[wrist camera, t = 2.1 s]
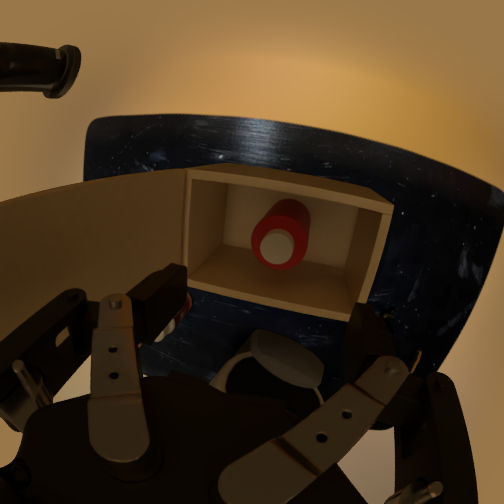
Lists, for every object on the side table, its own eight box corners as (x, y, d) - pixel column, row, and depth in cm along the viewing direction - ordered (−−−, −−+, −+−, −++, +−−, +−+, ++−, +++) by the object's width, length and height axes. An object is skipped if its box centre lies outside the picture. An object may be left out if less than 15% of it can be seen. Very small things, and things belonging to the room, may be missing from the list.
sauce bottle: (261, 227, 31) (237, 259, 22) (279, 190, 30) (262, 208, 20) (298, 246, 31) (288, 286, 22) (318, 211, 29) (318, 238, 20)
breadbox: (368, 187, 28) (394, 205, 18) (348, 273, 32) (358, 323, 22) (226, 162, 31) (184, 168, 21) (218, 246, 35) (179, 284, 25)
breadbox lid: (-52, 223, 5) (-53, 220, 5) (19, 401, 9) (14, 392, 9) (185, 169, 20) (177, 168, 20) (180, 287, 24) (173, 285, 24)
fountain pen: (388, 403, 38) (389, 410, 36) (383, 403, 38) (383, 409, 37) (423, 344, 32) (425, 350, 31) (416, 343, 33) (419, 349, 31)
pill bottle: (181, 316, 40) (155, 349, 33) (159, 294, 40) (129, 324, 32) (199, 301, 38) (172, 335, 31) (175, 277, 38) (144, 307, 30)
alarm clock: (341, 366, 37) (338, 472, 20) (301, 398, 41) (284, 491, 24) (250, 314, 37) (202, 419, 20) (219, 354, 41) (172, 445, 25)
